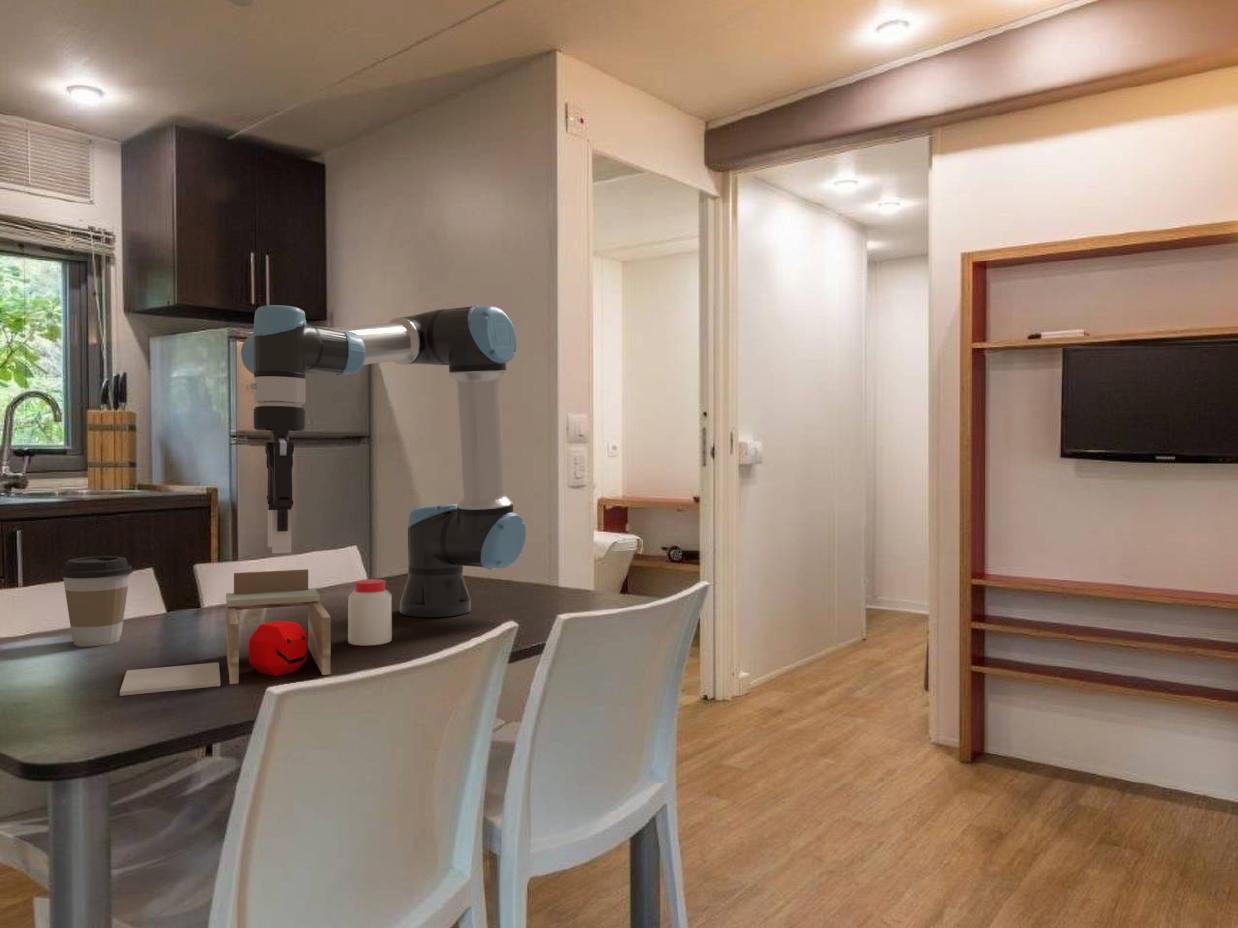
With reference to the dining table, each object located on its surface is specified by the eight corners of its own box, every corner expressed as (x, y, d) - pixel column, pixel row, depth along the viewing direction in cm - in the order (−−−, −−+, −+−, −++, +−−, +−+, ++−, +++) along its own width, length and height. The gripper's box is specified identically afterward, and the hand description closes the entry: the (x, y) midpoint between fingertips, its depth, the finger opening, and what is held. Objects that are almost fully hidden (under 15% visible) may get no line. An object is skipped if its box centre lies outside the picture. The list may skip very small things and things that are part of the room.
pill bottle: (400, 638, 164) (400, 579, 164) (375, 646, 156) (375, 585, 156) (364, 635, 166) (365, 577, 166) (339, 643, 159) (339, 583, 159)
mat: (218, 665, 142) (218, 662, 142) (220, 685, 130) (220, 681, 130) (126, 674, 136) (126, 670, 136) (119, 695, 124) (119, 691, 124)
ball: (274, 680, 133) (275, 630, 133) (240, 673, 137) (240, 625, 137) (316, 669, 140) (316, 622, 140) (282, 663, 144) (282, 617, 144)
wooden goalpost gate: (315, 647, 155) (315, 597, 155) (330, 674, 137) (330, 616, 137) (226, 655, 149) (226, 602, 149) (229, 684, 131) (230, 624, 131)
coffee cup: (147, 639, 161) (147, 557, 161) (87, 652, 151) (86, 565, 150) (106, 633, 166) (106, 554, 165) (45, 645, 155) (45, 560, 155)
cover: (314, 593, 157) (314, 568, 157) (319, 600, 150) (319, 574, 149) (226, 599, 151) (226, 572, 150) (227, 606, 143) (227, 579, 143)
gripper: (250, 407, 146) (249, 543, 146) (257, 401, 126) (257, 558, 127) (298, 409, 149) (297, 541, 149) (312, 403, 129) (312, 556, 130)
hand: (279, 549), depth 138 cm, fingers open, 9 cm apart
